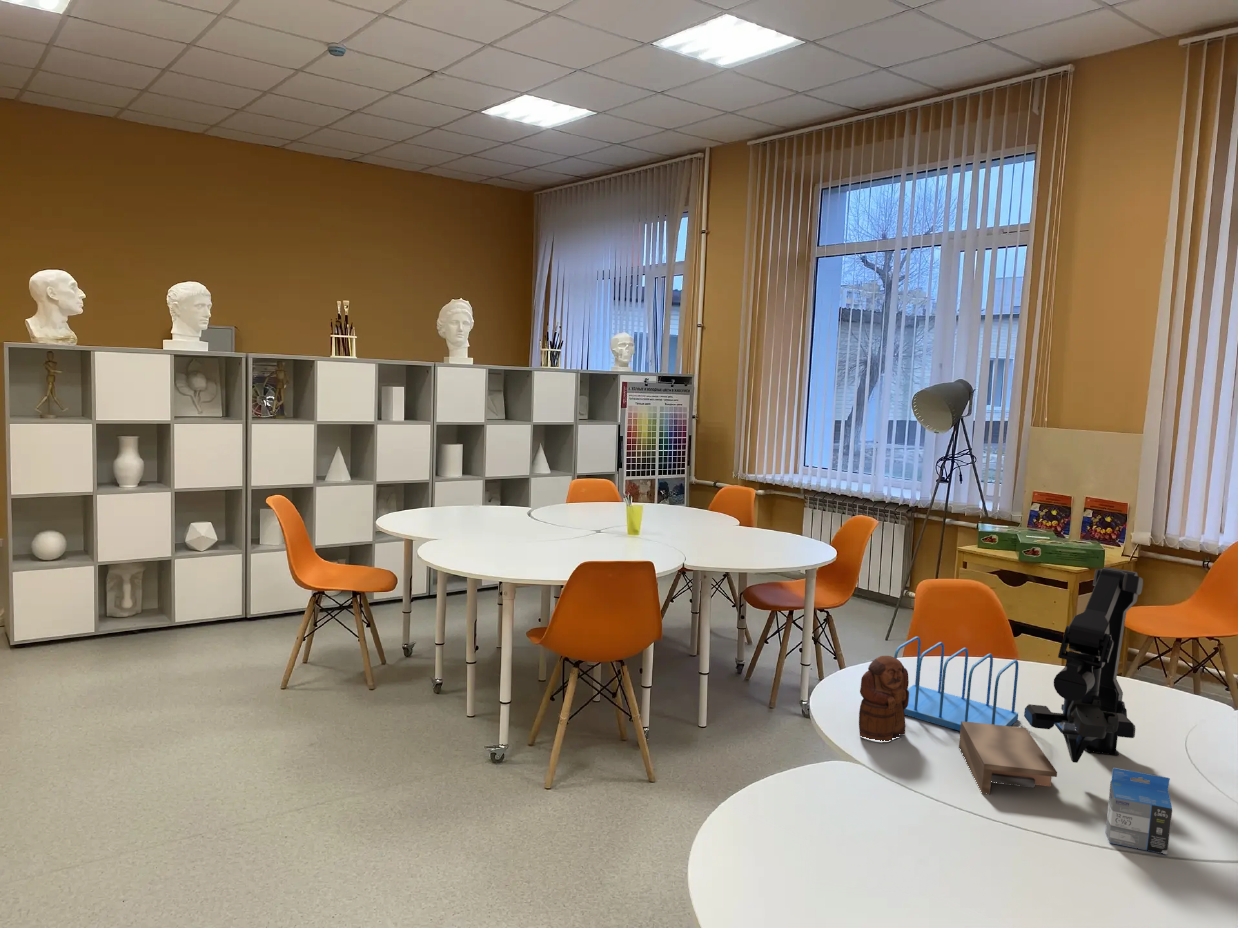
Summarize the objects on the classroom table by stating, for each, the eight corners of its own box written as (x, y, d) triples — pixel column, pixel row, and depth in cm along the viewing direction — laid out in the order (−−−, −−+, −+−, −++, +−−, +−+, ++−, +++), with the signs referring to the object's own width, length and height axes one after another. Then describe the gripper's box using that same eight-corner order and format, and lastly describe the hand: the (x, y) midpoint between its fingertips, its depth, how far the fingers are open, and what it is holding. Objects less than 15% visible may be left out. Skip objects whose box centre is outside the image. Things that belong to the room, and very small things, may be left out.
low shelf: (1023, 754, 180) (1025, 727, 179) (1053, 801, 160) (1057, 771, 159) (958, 747, 182) (961, 720, 181) (981, 793, 162) (984, 763, 162)
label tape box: (1108, 843, 146) (1116, 776, 145) (1104, 831, 150) (1112, 766, 149) (1167, 856, 143) (1176, 787, 142) (1162, 843, 147) (1170, 777, 145)
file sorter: (1018, 720, 198) (1024, 657, 196) (995, 743, 185) (1001, 676, 183) (913, 690, 214) (917, 632, 212) (885, 710, 201) (890, 648, 199)
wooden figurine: (877, 747, 180) (884, 666, 178) (853, 736, 186) (859, 657, 183) (911, 735, 187) (918, 656, 185) (887, 724, 192) (894, 648, 190)
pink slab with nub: (1039, 769, 173) (1040, 753, 173) (1050, 786, 166) (1052, 769, 166) (977, 762, 175) (979, 746, 175) (986, 778, 168) (987, 762, 168)
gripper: (1044, 696, 160) (1036, 774, 162) (1152, 707, 157) (1142, 787, 159) (1027, 675, 171) (1019, 749, 173) (1127, 685, 168) (1118, 760, 170)
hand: (1074, 761), depth 168 cm, fingers closed
